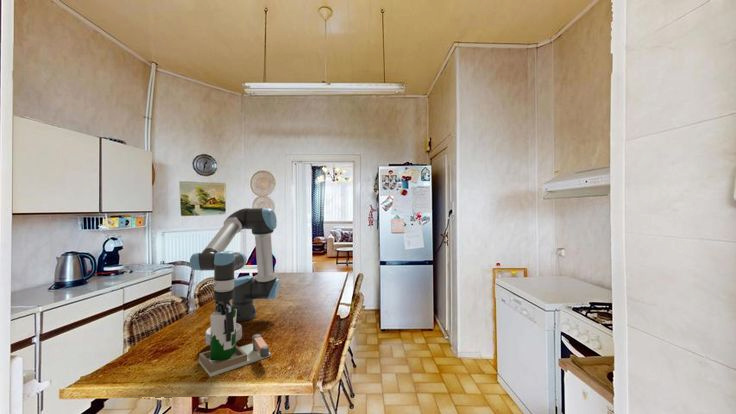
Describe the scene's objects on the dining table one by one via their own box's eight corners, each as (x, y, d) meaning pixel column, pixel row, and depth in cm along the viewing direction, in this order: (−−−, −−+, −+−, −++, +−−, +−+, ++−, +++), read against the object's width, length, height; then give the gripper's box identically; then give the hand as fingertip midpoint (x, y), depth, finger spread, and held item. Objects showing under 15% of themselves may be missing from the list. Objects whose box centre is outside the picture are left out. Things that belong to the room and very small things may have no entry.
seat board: (198, 362, 125) (198, 352, 125) (255, 344, 141) (256, 336, 141) (210, 376, 114) (210, 366, 114) (270, 356, 131) (270, 347, 131)
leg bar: (251, 342, 134) (251, 335, 134) (259, 340, 136) (259, 333, 136) (261, 358, 120) (261, 350, 120) (270, 356, 122) (270, 348, 122)
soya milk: (230, 361, 121) (231, 310, 121) (206, 361, 120) (207, 310, 120) (238, 350, 129) (238, 303, 130) (216, 351, 129) (217, 303, 129)
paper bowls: (205, 355, 130) (205, 337, 130) (205, 342, 144) (205, 325, 144) (243, 348, 137) (243, 331, 137) (240, 336, 151) (240, 320, 151)
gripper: (206, 286, 130) (205, 339, 129) (223, 296, 114) (222, 357, 114) (224, 283, 135) (223, 334, 135) (243, 293, 119) (242, 351, 119)
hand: (223, 345), depth 124 cm, fingers closed on soya milk, 9 cm apart
